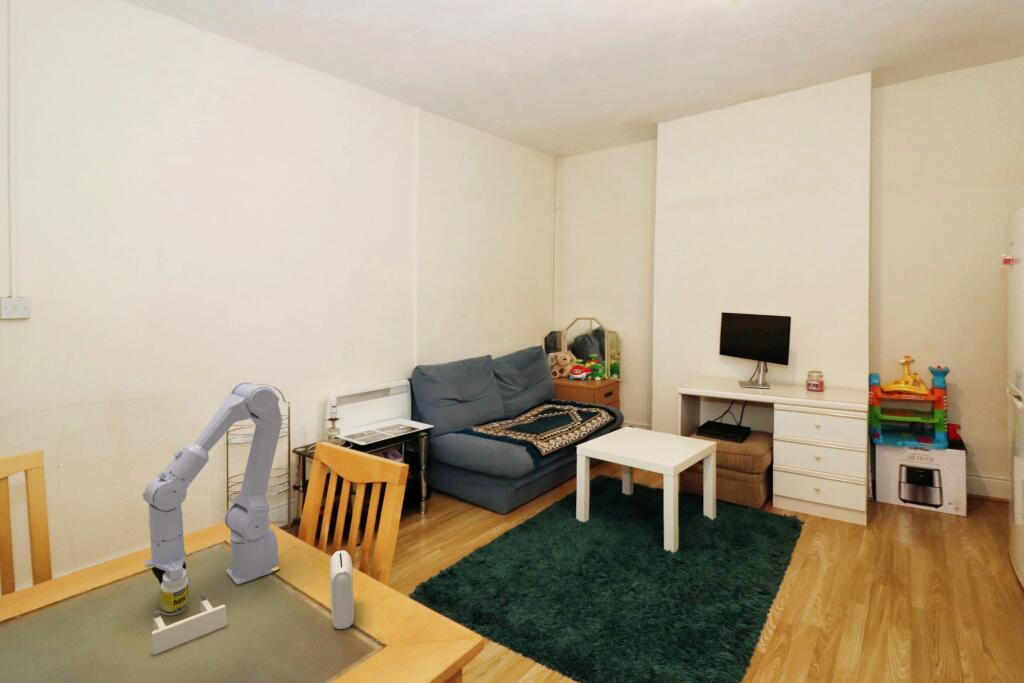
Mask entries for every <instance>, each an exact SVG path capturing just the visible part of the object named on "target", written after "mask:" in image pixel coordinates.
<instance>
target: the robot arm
mask: <svg viewBox="0 0 1024 683" xmlns="http://www.w3.org/2000/svg"><path fill="white" fill-rule="evenodd" d="M279 400H280V397H279V395H277V394H276V393H275V392H274V391H273V389H272V388H271V387H268V386H261V385H258V384H254V383H251V382H244V381H243V382H240V383H238V384H236V385H235V386H234V387H233V388H232V390H231V393H228V394H227V395H226V396H225V397H224V399H223V401H222V404H221V405H220V408H218V410H217V411H216V413H215V414H214V415H213V417H212V418H211V419H210V421H209V422H208V424H207V425H206V426H205V428H204V429H203V431H201V433H200V434H199V436H198V437H197V439H196V440H195V441H194V442H193V443H191V444H188V445H187V444H186V445H184V446H183V447H182V448H181V449H177V450H176V451H175V452H174V453H173V456H174V458H173V459H172V460H171V462H170V463H169V464H168V465H167V466H166V468H165V469H164V470H163V471H160V472H159V473H158V475H157V477H155V478H156V479H152V480H150V482H149V483H148V484H147V485H146V486H145V489H144V491H145V492H143V493H142V497H143V499H144V501H145V502H146V503H148V514H149V517H148V522H149V540H150V554H151V555H150V556H151V558H149V559H147V560H145V561H144V566H145V567H146V568H151V567H152V568H151V572H152V573H153V575H154V576H155V578H156V579H157V580H158V583H159V586H160V587H161V583H162V582H163V574H164V573H165V572H166V571H167V572H169V573H170V577H171V580H174V579H177V578H180V577H183V568H184V569H185V570H186V568H187V563H186V562H185V559H186V556H187V552H186V550H185V539H184V537H185V535H184V523H183V522H184V521H183V511H182V507H183V506H182V504H183V502H185V500H186V498H187V495H188V494H187V490H188V488H190V485H191V484H192V482H193V481H194V480H195V479H196V477H197V476H198V475H199V474H200V473H201V471H202V470H203V468H204V467H205V466H206V465H207V463H208V462H209V460H210V459H209V458H210V457H209V452H210V451H211V450H212V448H214V447H215V445H216V444H217V443H218V442H219V441H220V440H221V439H222V437H223V436H224V435H225V434H226V433H227V432H228V431H229V429H230V428H231V427H232V426H233V425H234V424H235V423H237V422H240V421H241V422H242V421H244V420H249V419H250V420H251V421H252V422H253V423H254V424H255V428H254V432H253V436H252V437H253V438H252V441H251V444H250V450H249V454H248V459H247V462H246V466H245V470H244V474H243V480H242V484H241V488H240V492H239V493H238V494H237V495H235V496H234V498H233V499H232V503H231V505H230V507H229V508H228V510H227V511H226V513H225V515H224V524H225V526H226V527H227V528H228V529H230V535H229V536H230V537H229V538H230V555H231V556H230V557H231V568H228V569H226V571H225V572H226V574H227V575H228V576H229V577H230V578H231V580H232V581H233V582H234V583H235V584H236V586H237V585H242V584H244V583H247V582H250V581H252V580H256V579H258V578H261V577H264V576H266V575H269V574H273V573H274V572H273V570H271V569H272V568H275V567H277V566H279V567H280V565H279V564H280V563H279V548H278V538H277V534H276V533H275V531H274V529H272V528H270V524H271V521H270V516H269V513H270V512H269V511H270V505H269V502H268V500H267V497H266V495H267V494H266V493H267V491H268V490H267V489H268V485H269V482H270V481H269V480H270V477H271V472H272V467H273V463H274V460H275V454H276V450H277V446H278V442H279V437H280V433H281V428H282V424H283V417H282V416H283V415H282V414H281V409H280V406H279Z"/></svg>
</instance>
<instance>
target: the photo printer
mask: <svg viewBox="0 0 1024 683" xmlns="http://www.w3.org/2000/svg"><path fill="white" fill-rule="evenodd" d="M329 579H330V582H329V586H330V605H331V618H332V624H333V628H336V629H337V630H343V629H344V630H345V629H348V628H349V627H351V626H352V625H353V624H354V619H355V608H354V607H355V606H354V603H355V602H354V574H353V560H352V558H351V556H350V554H349V552H347V551H346V550H343V549H342V550H337V551H335V552H334V553H333V554H332V556H331V558H330V562H329Z"/></svg>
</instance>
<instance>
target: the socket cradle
mask: <svg viewBox="0 0 1024 683" xmlns="http://www.w3.org/2000/svg"><path fill="white" fill-rule="evenodd" d="M199 603H200V604H199V606H200V613H198V614H194V615H191V616H189V617H186V618H185V619H181V620H178V621H176V622H174V623H171V624H169V625H166V624H165V622H164V620H163V618H162V617H161V609H156V610H154V611H153V618H152V619H153V631H151V641H152V642H151V643H152V644H151V645H152V653H153V655H154V656H156V655H159V654H161V653H162V652H166V651H169V650H170V649H173V648H176V647H178V646H180V645H183V644H185V643H188V642H190V641H193V640H195V639H198V638H200V637H202V636H205V635H208V634H210V633H212V632H215V631H217V630H221V629H222V628H224V627H226V626H227V609H226V605H225V604H222V605H218V606H215V607H213V606H212V605H211V603H210V601H209V600H208V599H207V593H201V594H200V599H199Z"/></svg>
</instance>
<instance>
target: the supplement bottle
mask: <svg viewBox="0 0 1024 683" xmlns="http://www.w3.org/2000/svg"><path fill="white" fill-rule="evenodd" d="M188 604H189V579H188V577H187V570H186V569H184V568H183V577H180V578H177V579H174V580H171V577H170V573H169V572H167V571H166V572H165V573H164V574H163V582H162V583H161V586H160V613H162V614H163V615H165V616H176V615H178V614H180V613H182V612H183V611H184V610H186V608H187V607H188Z"/></svg>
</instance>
